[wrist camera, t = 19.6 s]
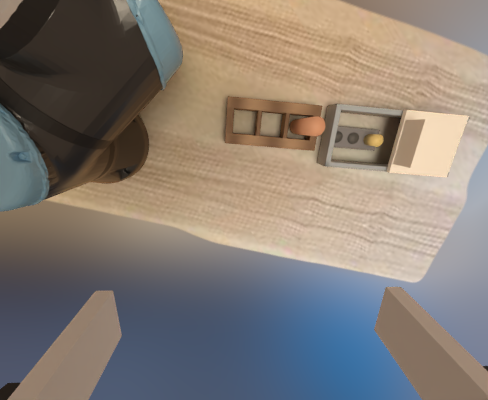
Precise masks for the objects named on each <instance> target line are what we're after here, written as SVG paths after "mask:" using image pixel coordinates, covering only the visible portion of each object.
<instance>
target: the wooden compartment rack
mask: <svg viewBox="0 0 488 400" xmlns="http://www.w3.org/2000/svg"><path fill="white" fill-rule="evenodd" d="M234 109H237V110H247V111H257V116H256V127H255V135H248V134H236V133H233V119H234ZM321 110H322V106H319V105H309V104H299V103H289V102H279V101H269V100H259V99H249V98H239V97H229V96H228V103H227V120H226V136H225V143H232V144H244V145H255V146H267V147H278V148H289V149H301V150H312V151H314V150H315V144H316V138H317V136H308V135H305V140H303V139H292V138H287V132H288V125H289V118H290V115H299V116H308V117H315V116H319V117H320V116H321ZM262 112H268V113H278V114H283V117H282V124H281V132H280V137H270V136H260V128H261V118H262Z"/></svg>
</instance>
